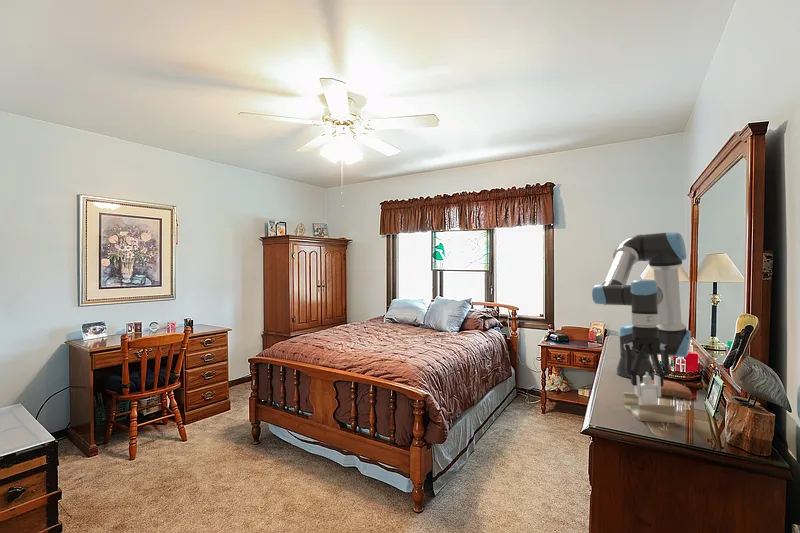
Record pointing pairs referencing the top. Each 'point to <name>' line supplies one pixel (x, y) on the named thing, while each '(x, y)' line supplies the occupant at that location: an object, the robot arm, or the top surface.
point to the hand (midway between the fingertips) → (647, 395)
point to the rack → (649, 410)
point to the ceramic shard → (675, 390)
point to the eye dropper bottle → (648, 391)
